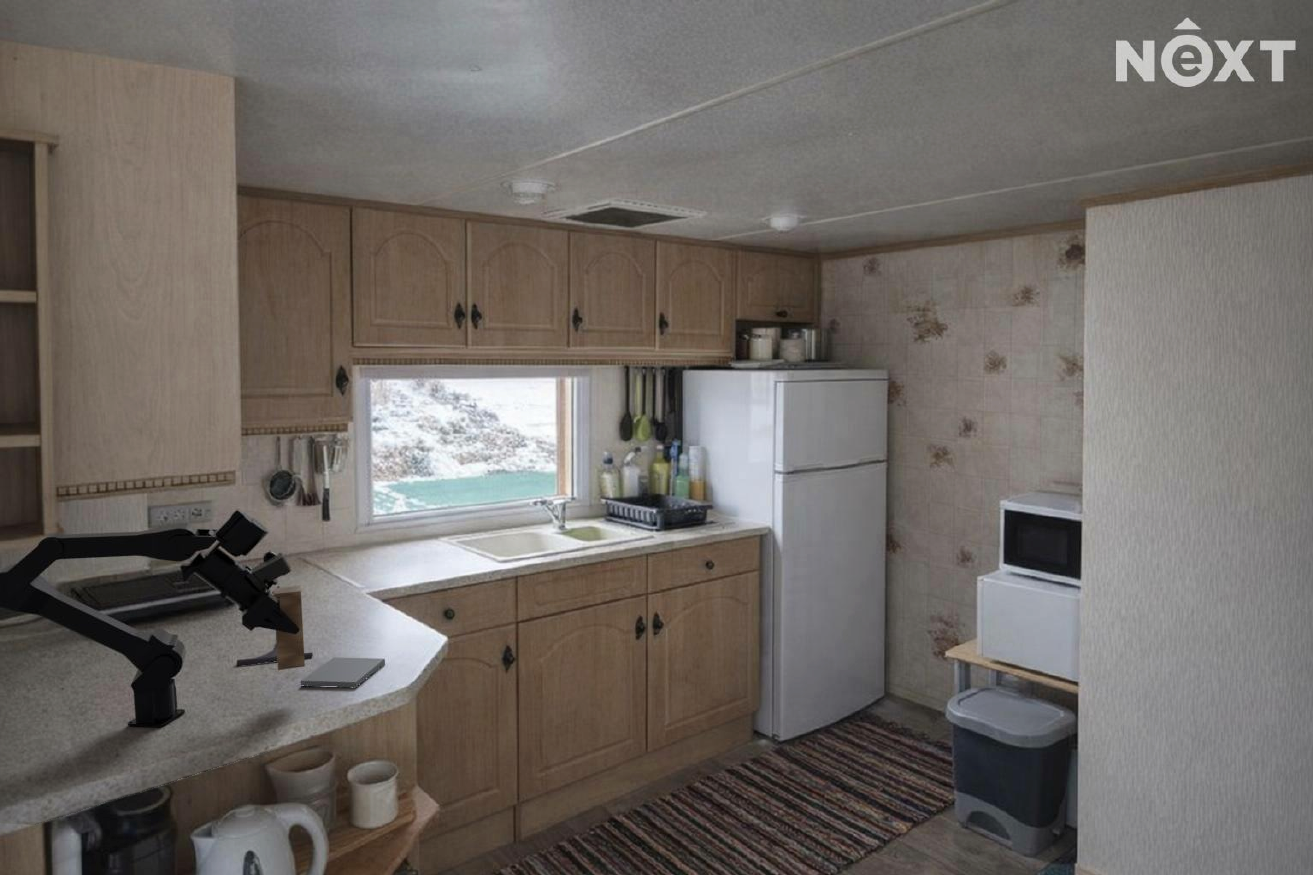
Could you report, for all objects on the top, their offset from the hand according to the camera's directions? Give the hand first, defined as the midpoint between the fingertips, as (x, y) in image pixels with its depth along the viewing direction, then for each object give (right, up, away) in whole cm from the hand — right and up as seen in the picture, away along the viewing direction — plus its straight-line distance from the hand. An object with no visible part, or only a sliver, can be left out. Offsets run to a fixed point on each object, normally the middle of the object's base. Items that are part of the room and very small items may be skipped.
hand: (297, 628), depth 160 cm
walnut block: (-1, -7, 0) cm, 7 cm away
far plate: (+4, -12, +12) cm, 17 cm away
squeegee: (-15, -12, +27) cm, 33 cm away
